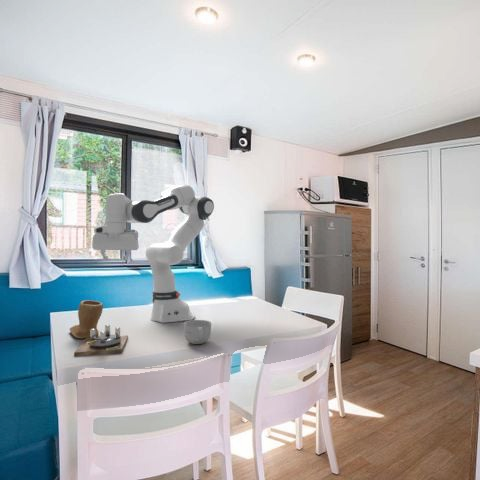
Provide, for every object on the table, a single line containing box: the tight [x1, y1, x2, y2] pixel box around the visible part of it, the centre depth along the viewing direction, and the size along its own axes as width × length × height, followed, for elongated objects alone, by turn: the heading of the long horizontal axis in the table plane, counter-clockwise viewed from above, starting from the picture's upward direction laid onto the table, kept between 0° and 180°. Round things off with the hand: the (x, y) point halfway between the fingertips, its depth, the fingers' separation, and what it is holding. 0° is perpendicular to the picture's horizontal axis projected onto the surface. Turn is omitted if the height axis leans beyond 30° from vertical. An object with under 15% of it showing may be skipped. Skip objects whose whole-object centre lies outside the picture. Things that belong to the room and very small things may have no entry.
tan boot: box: [69, 299, 104, 339], centre depth 142 cm, size 15×12×15 cm
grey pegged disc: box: [86, 324, 121, 348], centre depth 125 cm, size 11×11×6 cm
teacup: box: [183, 319, 212, 345], centre depth 131 cm, size 14×11×8 cm
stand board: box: [73, 334, 129, 357], centre depth 126 cm, size 16×17×2 cm
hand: (115, 260), depth 147 cm, fingers open, 8 cm apart
